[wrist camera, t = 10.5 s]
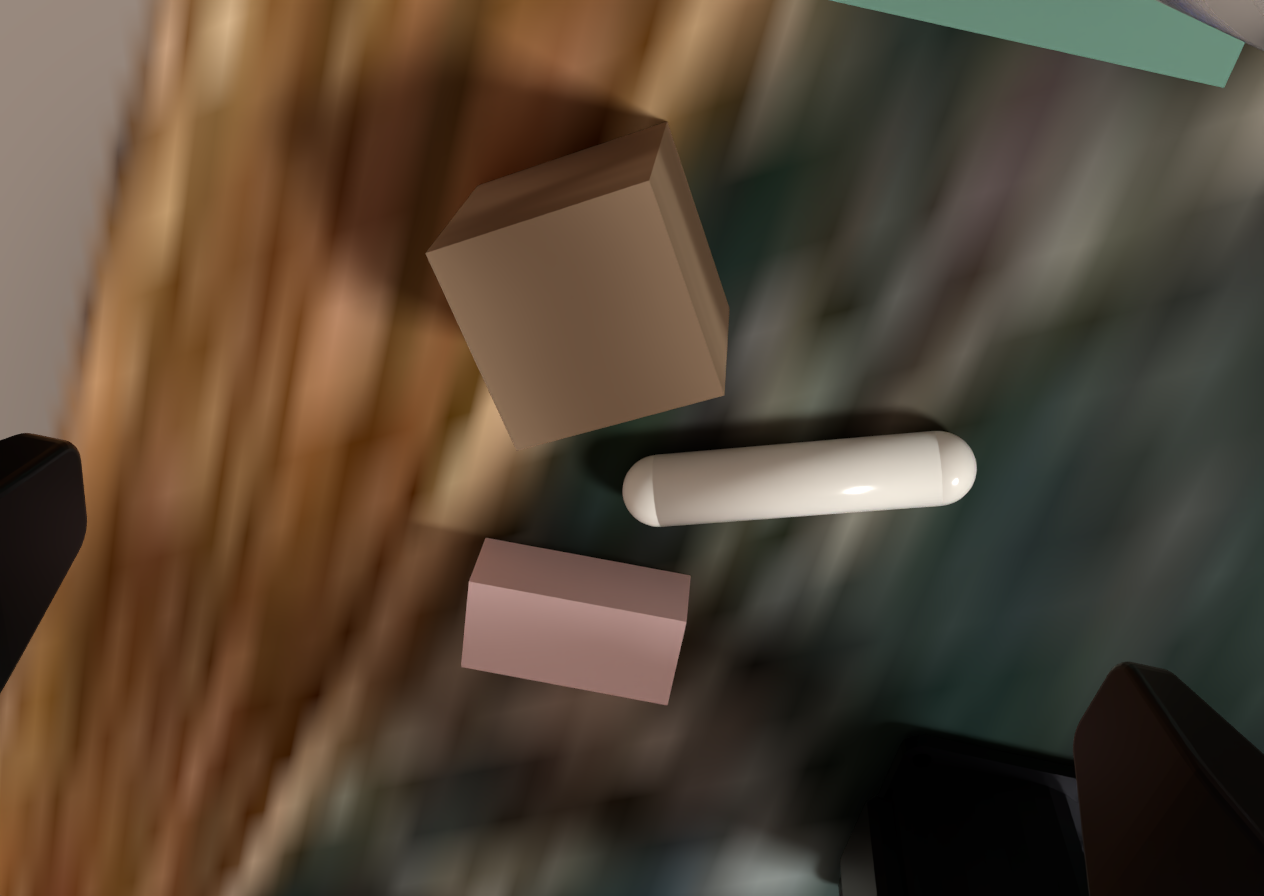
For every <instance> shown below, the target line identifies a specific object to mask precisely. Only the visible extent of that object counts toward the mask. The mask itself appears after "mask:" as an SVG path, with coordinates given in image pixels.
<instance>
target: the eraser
mask: <svg viewBox="0 0 1264 896" xmlns="http://www.w3.org/2000/svg"><path fill="white" fill-rule="evenodd" d="M690 580H691V575H685V574H680V573H674V572H669V571H664V570H658V569H653V568H647V567H642V566H637V565H631V564H626V563H620V562H615V561H609V560H604V559H599V558H593V557H588V556H582V555H577V554H571V553H566V552H561V551H555V550H550V549H544V548H539V547H534V546H528V545H523V544H517V543H512V542H506V541H501V540H496V539H490V538H485V541H484V543H483V546H482V549H481V551H480V554H479V556H478V559H477V562H476V564H475V567H474V569H473V572H472V575H471V577H470V580H469V586H468V596H467V607H466V618H465V629H464V640H463V651H462V661H461V667H464V668H470V669H475V670H480V671H486V672H491V673H496V674H502V675H507V676H512V677H518V678H523V679H528V680H534V681H539V682H545V683H550V684H555V685H561V686H566V687H571V688H577V689H582V690H587V691H593V692H598V693H603V694H609V695H614V696H619V697H625V698H630V699H635V700H641V701H646V702H652V703H657V704H662V705H668V701H669V696H670V692H671V688H672V683H673V679H674V675H675V670H676V666H677V661H678V657H679V653H680V648H681V644H682V640H683V635H684V631H685V627H686V622H687V612H688V601H689V590H690Z"/></svg>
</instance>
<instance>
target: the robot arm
mask: <svg viewBox="0 0 1264 896" xmlns="http://www.w3.org/2000/svg"><path fill="white" fill-rule="evenodd" d="M86 526H87V514H86V505H85V495H84V485H83V475H82V465H81V458H80V454H79V452H78V450H77V448H76V447H75V446H74V445H73V444H72V443H70V442H69V441H66V440H61V439H56V438H51V437H46V436H42V435H37V434H31V433H21V434H18V435H14V436H11V437H9V438H6V439H3V440H0V693H1V691H2V689H3V688H4V686H5V684H6V683H7V681H8V679H9V677H10V676H11V674H12V672H13V671H14V669H15V667H16V665H17V663H18V661H19V660H20V658H21V656H22V654H23V652H24V650H25V649H26V647H27V645H28V643H29V641H30V640H31V638H32V636H33V634H34V632H35V630H36V629H37V627H38V625H39V623H40V621H41V619H42V618H43V616H44V614H45V612H46V610H47V608H48V607H49V605H50V603H51V601H52V599H53V598H54V596H55V594H56V592H57V590H58V588H59V587H60V585H61V583H62V581H63V579H64V577H65V576H66V574H67V572H68V570H69V568H70V566H71V565H72V563H73V561H74V559H75V557H76V556H77V554H78V552H79V550H80V548H81V546H82V543H83V540H84V537H85V533H86ZM920 753H922V754H926V755H924V756H915V755H917V754H920ZM1073 756H1074V765H1075V767H1071V766H1067V765H1062V764H1057V763H1053V762H1048V761H1043V760H1039V759H1034V758H1030V757H1025V756H1020V755H1016V754H1011V753H1006V752H1002V751H997V750H992V749H988V748H983V747H979V746H974V745H969V744H965V743H960V742H955V741H951V740H946V739H942V738H937V737H932V736H928V735H915V736H910V737H909V738H907V739H905V740H904V741H903V743H902V744H901V745H900V748H899V750H898V752H897V754H896V756H895V759H894V761H893V763H892V765H891V768H890V770H889V772H888V774H887V776H886V779H885V781H884V783H883V785H882V787H881V790H880V792H879V794H878V796H873V797H872V798H870V799H869V800H868V801H866V803H865V805H864V807H863V809H862V811H861V814H860V816H859V818H858V820H857V823H856V825H855V827H854V829H853V832H852V834H851V836H850V838H849V841H848V843H847V845H846V847H845V850H844V852H843V854H842V856H841V859H840V867H841V878H840V880H839V896H1264V754H1263V753H1262V752H1261V751H1259V750H1258V749H1257V748H1256V747H1255V746H1254V745H1253V744H1252V743H1251V742H1249V741H1248V740H1247V739H1246V738H1245V737H1244V736H1243V735H1242V734H1240V733H1239V732H1238V731H1237V730H1236V729H1235V728H1234V727H1233V726H1232V725H1230V724H1229V723H1228V722H1227V721H1226V720H1225V719H1224V718H1223V717H1221V716H1220V715H1219V714H1218V713H1217V712H1216V711H1215V710H1214V709H1212V708H1211V707H1210V706H1209V705H1208V704H1207V703H1206V702H1205V701H1204V700H1202V699H1201V698H1200V697H1199V696H1198V695H1197V694H1196V693H1195V692H1193V691H1192V690H1191V689H1190V688H1189V687H1188V686H1187V685H1186V684H1185V683H1183V682H1182V681H1181V680H1180V679H1179V678H1178V677H1177V676H1176V675H1174V674H1173V673H1172V672H1170V671H1168V670H1165V669H1162V668H1157V667H1152V666H1148V665H1143V664H1138V663H1133V662H1122V663H1119V664H1117V665H1116V666H1115V667H1114V668H1112V670H1111V671H1110V672H1109V674H1108V675H1107V677H1106V679H1105V680H1104V682H1103V684H1102V685H1101V687H1100V689H1099V690H1098V692H1097V694H1096V695H1095V697H1094V699H1093V700H1092V702H1091V704H1090V705H1089V707H1088V709H1087V710H1086V712H1085V714H1084V715H1083V717H1082V719H1081V720H1080V722H1079V724H1078V726H1077V729H1076V732H1075V736H1074V743H1073Z"/></svg>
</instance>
